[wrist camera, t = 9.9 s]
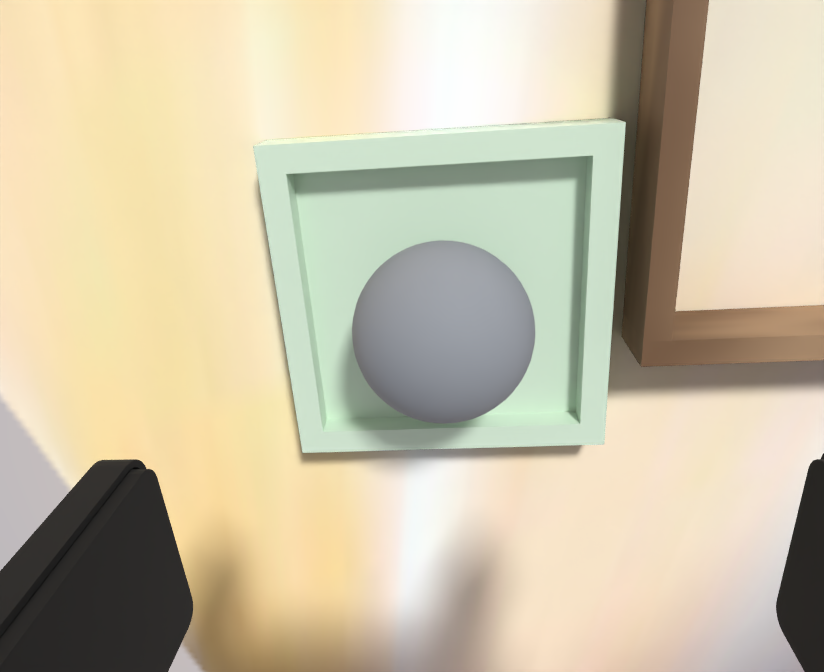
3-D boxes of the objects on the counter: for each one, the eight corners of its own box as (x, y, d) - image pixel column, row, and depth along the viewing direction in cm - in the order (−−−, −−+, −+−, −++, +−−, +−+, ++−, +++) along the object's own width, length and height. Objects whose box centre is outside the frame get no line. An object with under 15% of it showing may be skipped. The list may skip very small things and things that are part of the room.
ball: (526, 216, 18) (549, 269, 14) (525, 368, 20) (544, 459, 16) (357, 224, 19) (325, 279, 14) (373, 373, 21) (348, 462, 16)
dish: (612, 118, 18) (625, 122, 16) (594, 421, 22) (604, 444, 20) (266, 140, 18) (252, 145, 17) (310, 430, 22) (302, 452, 21)
